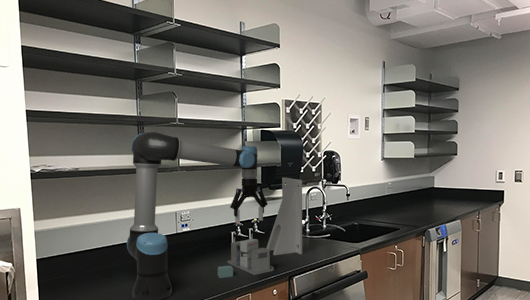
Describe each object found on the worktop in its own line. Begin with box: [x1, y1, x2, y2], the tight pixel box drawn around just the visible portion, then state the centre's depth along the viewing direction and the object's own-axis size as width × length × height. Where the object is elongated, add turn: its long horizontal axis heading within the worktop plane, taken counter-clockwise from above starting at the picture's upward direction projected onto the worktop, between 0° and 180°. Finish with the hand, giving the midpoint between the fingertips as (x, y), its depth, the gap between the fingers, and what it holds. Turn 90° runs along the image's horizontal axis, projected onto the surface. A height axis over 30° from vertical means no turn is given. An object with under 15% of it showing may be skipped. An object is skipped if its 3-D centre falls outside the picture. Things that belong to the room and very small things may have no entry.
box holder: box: [226, 240, 275, 276], centre depth 203 cm, size 11×24×10 cm, turn 36°
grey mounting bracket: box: [265, 177, 303, 256], centre depth 230 cm, size 20×14×40 cm
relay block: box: [217, 264, 234, 279], centre depth 189 cm, size 6×4×4 cm, turn 111°
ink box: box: [240, 238, 259, 267], centre depth 202 cm, size 8×5×12 cm, turn 140°
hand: (249, 221), depth 202 cm, fingers open, 13 cm apart
